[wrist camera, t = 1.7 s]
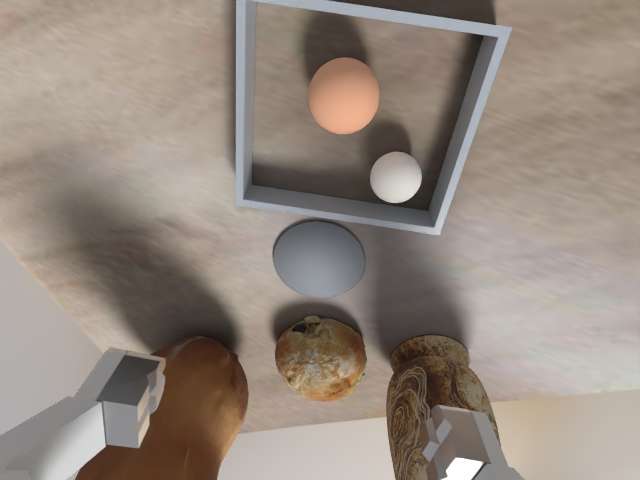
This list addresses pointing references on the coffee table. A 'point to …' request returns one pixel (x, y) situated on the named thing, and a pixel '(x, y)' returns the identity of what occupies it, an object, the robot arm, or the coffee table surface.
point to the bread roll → (321, 358)
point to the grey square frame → (349, 208)
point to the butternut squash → (184, 418)
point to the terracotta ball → (343, 95)
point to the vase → (427, 396)
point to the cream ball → (395, 177)
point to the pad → (319, 259)
